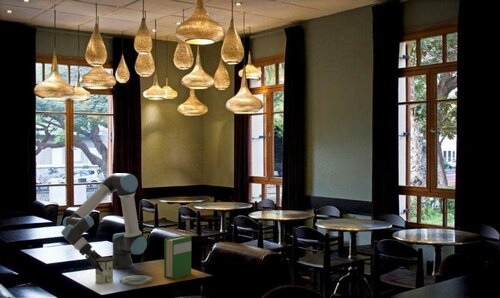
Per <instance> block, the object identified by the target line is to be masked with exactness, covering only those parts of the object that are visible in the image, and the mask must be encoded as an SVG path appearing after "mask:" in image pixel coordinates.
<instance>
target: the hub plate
mask: <svg viewBox="0 0 500 298" xmlns="http://www.w3.org/2000/svg"><path fill="white" fill-rule="evenodd" d="M152 282H153V277H152V276H149V275H144V274H143V275H141V274H138V275H137V274H136V275H128V276H123V277H121V278H120V279H119V283H120V284H122V285H126V286H138V285H139V286H140V285H147V284H150V283H152Z"/></svg>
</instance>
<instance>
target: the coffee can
mask: <svg viewBox="0 0 500 298" xmlns="http://www.w3.org/2000/svg"><path fill="white" fill-rule="evenodd" d="M96 260H97V262H98V263H99V265H100V266H102V267H103V268H104V269H105V270H106V271H107V272H108V273H109V274H107V275H106V276H104V275H103V274H102V273H101V272H100V271H99V270H98V269H97V270H96V269H95V284H97V285H108V284H112V283H113V282H114V269H113V258H112V257H109V256H102V258H97V259H96Z"/></svg>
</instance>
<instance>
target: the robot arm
mask: <svg viewBox="0 0 500 298" xmlns="http://www.w3.org/2000/svg"><path fill="white" fill-rule="evenodd" d="M138 187H139V181H138V178H137V177H136V176H135V175H134V174H132V173H124V172H123V173H118V172H117V173H116V172H115V173H112V174H111V175H109V176H107V177H106V178H105V179H104V180H103V181H102V182H101V183H100V184H99V185H98V188H97V189H96V190H95V191H93V193H92V194H91V195H90V196H89V197H88V198H87V199H86V200H85V201H84V202H83V203H82V204H81V205H80V206H79V207H78V209H75V211H74V212H73V213H72V214H71V215H70V216H66V217H64V219H63V220H62V225H63V227H64V228H63V229H62V230H61V235H62V236H63V237H64V239H65V240H66V241H67V242H69V243H70V244H71V245H72V246H73V247H74V250H77V251H78V253H80V255H82V256H84V257H85V258H86V259H87V261H88V262H89V264H90V265H92V267H93V268H94V269H95V271H96V270H97V269H98V270H99V271H100V272H101V273H102V274H103V275H104V276H106V275H107V274H109V273H108V272H107V271H106V270H105V269H104V268H103V267H102V266H100V265H99V263H98V262H97V260H96V259H97V258H102V257H103V256H102V255H100V254H99V253H98V252H97V251H96V250H95V249H93V250H92V248H93V246H92V245H91V244H90V243H89V242H88V240H86V239H85V237H83V234H84V233H86V232H87V231H88V230H89V229H91V228H92V227H93V226H94V225H95V221H94V219H93V217H92V216H90V214H91V213H92V212H93V211H94V210H95V209H96V208H97V207H98V206H99V205H100V204H101V203H102V202H103V200H104V199H106V198H107V197H108V196H111V195H112V194H113V193H114V192H116V193H117V196H118V197H119V198H120V202H121V209H122V216H123V221H124V229H125V232H119V233H114V234H113V235H112V257H111V258H113V270H124V269H125V270H126V269H131V268H133V266H134V263H133V259H132V257H131V254H133V255H141V254H143V253H144V252H145V250H146V249H147V245H148V242H147V240H146V238H145V237H144V236H143V232H142V231H141V230H140V229H139V228H140V227H139V221H138V214H137V209H136V201H135V194H136V193H137V192H136V190H137V188H138Z"/></svg>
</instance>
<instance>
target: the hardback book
mask: <svg viewBox="0 0 500 298" xmlns="http://www.w3.org/2000/svg"><path fill="white" fill-rule="evenodd" d="M163 244H164V246H163V247H164V253H163V256H164V261H163V263H164V264H163V266H164V267H163V268H164V269H163V277H164V279H165V278H172V280H174V279H175V280H176V279H179V278H182V277H186V276H188V275H192V236H190V235H178V236H173V237H168V238H164V243H163Z"/></svg>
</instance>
